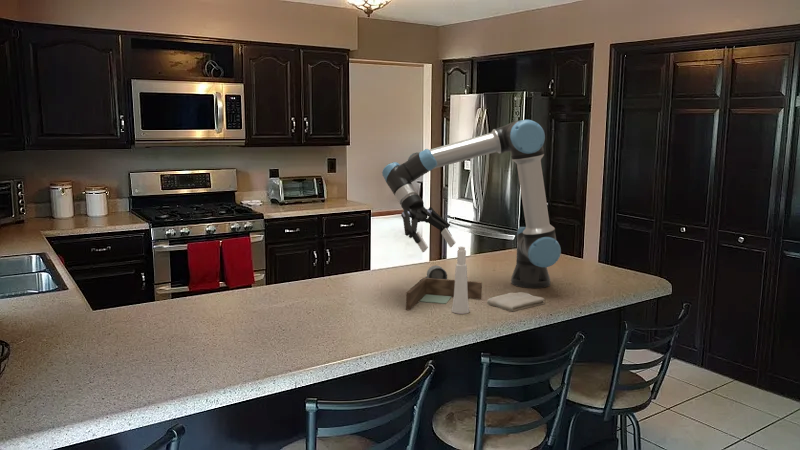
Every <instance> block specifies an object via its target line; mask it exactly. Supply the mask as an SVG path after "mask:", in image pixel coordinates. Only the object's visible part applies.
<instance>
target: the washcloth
mask: <svg viewBox="0 0 800 450" xmlns="http://www.w3.org/2000/svg"><path fill="white" fill-rule="evenodd" d="M486 301H487V304H488V305H489V306H492V307H494V308H495V307H496V308H499V309H502V310H505V311H509V312H511V313H513V312H516V311H521V310H526V309H529V308H534V307H536V306H541V305H545V304H546V303H545V298H544V297H541V296H536V295H532V294H530V293H528V292H523V291H518V292H508V293H505V294H500V295H497V296H496V295H495V296H492V297H489V298H488V299H487V300H486Z"/></svg>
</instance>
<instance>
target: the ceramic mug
mask: <svg viewBox="0 0 800 450" xmlns="http://www.w3.org/2000/svg"><path fill="white" fill-rule="evenodd" d="M423 278H434V279H448V274H447V271H446V269H444V268H443V267H442V266H440V265H431V266H430V267H428V269H427V271H426V276H424V277H423Z"/></svg>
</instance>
